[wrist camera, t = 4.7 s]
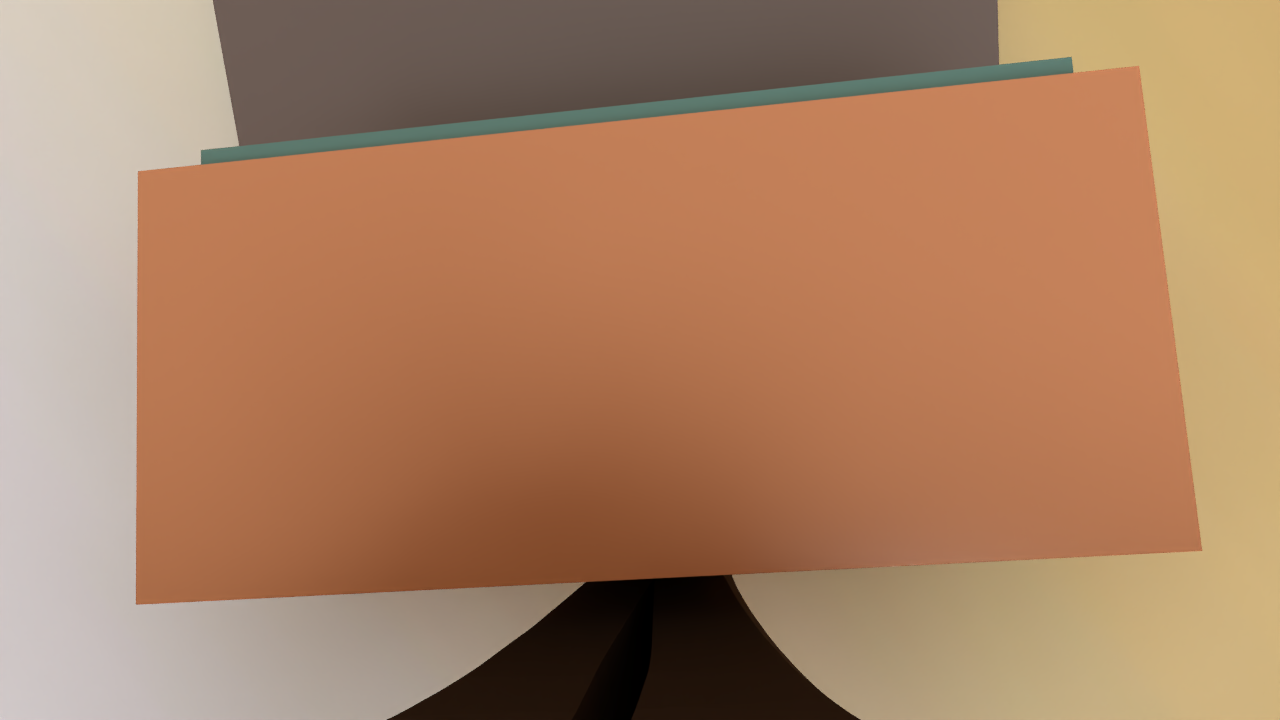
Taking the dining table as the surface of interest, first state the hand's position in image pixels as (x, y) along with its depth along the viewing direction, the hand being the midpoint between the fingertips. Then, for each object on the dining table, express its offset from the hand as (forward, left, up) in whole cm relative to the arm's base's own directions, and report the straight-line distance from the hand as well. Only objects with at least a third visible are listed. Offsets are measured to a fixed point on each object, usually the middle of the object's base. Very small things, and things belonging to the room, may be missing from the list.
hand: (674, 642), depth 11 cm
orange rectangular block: (+1, 0, -6) cm, 6 cm away
